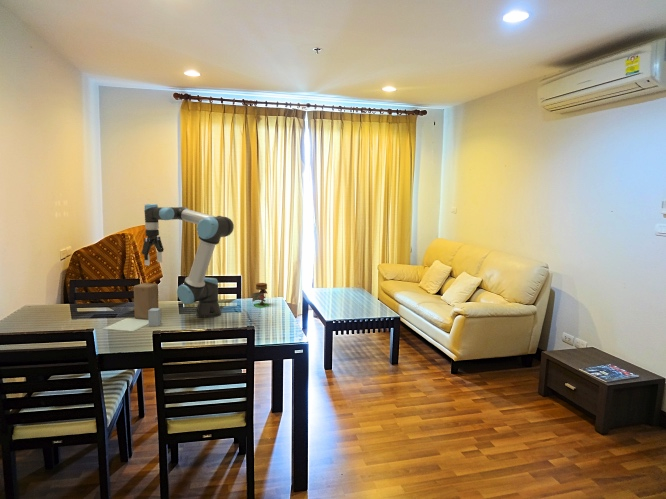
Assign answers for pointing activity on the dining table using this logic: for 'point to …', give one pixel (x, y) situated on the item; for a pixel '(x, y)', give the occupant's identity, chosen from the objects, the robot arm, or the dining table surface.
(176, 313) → the dining table surface
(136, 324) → the mat
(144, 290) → the wooden block
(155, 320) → the light grey block
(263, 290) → the figurine on green base
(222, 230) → the robot arm
